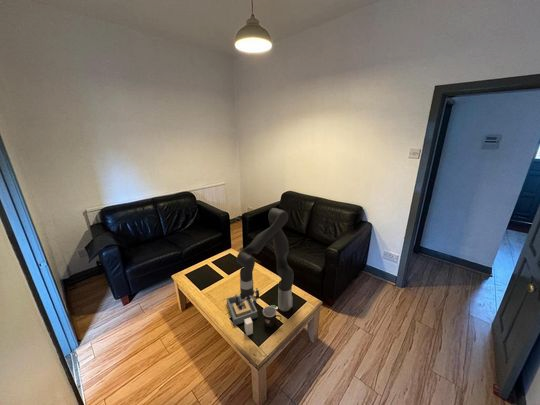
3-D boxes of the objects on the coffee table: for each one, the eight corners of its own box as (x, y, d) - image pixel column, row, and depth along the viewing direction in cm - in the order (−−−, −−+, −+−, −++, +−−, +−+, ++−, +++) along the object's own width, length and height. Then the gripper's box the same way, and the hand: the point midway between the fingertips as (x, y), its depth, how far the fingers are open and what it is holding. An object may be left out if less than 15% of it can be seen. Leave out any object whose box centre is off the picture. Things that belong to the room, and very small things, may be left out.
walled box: (248, 297, 164) (247, 291, 162) (257, 317, 147) (257, 311, 145) (227, 303, 158) (226, 298, 156) (234, 325, 141) (234, 319, 139)
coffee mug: (260, 323, 143) (260, 311, 139) (269, 315, 148) (269, 304, 145) (272, 334, 135) (272, 322, 131) (282, 326, 140) (282, 314, 137)
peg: (250, 328, 139) (250, 317, 136) (252, 333, 136) (252, 322, 133) (244, 330, 138) (244, 319, 135) (246, 335, 134) (246, 324, 131)
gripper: (256, 277, 131) (256, 298, 136) (232, 283, 125) (234, 306, 131) (260, 285, 124) (261, 307, 130) (236, 292, 119) (237, 315, 124)
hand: (247, 306), depth 130 cm, fingers open, 8 cm apart
